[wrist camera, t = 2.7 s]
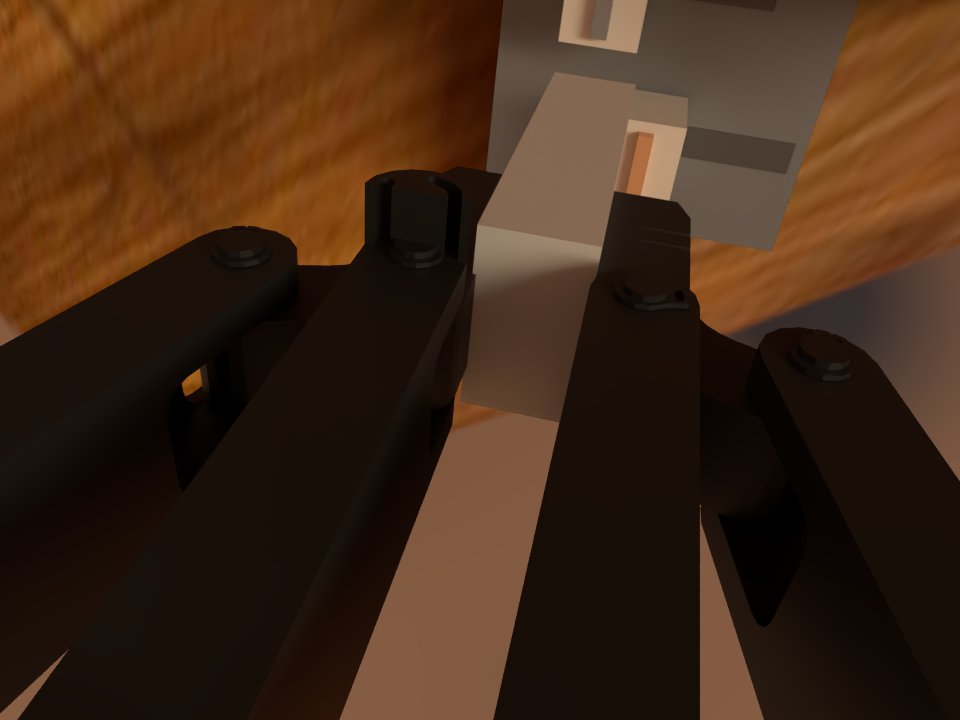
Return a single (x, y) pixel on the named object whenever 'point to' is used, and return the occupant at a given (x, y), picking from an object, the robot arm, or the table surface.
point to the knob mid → (603, 23)
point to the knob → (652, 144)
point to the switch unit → (696, 95)
